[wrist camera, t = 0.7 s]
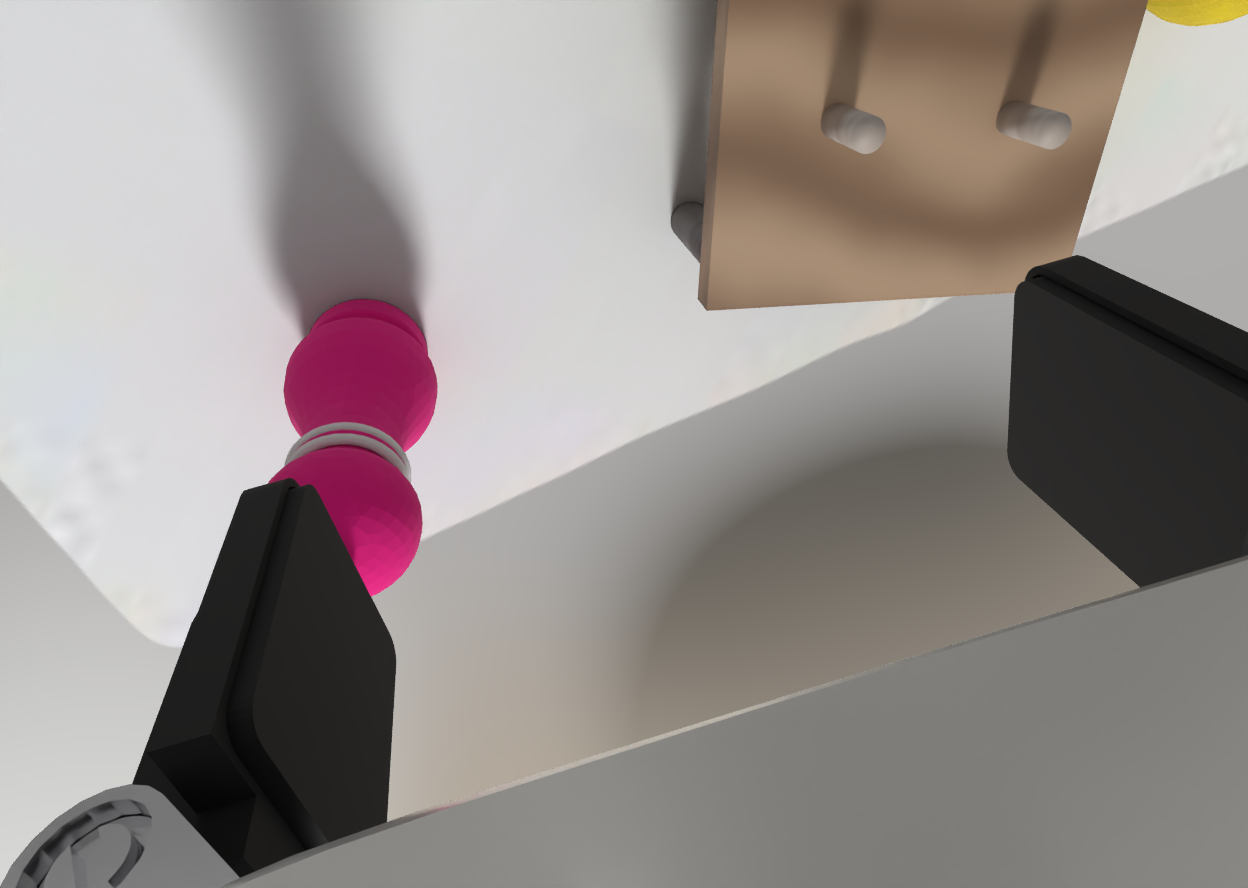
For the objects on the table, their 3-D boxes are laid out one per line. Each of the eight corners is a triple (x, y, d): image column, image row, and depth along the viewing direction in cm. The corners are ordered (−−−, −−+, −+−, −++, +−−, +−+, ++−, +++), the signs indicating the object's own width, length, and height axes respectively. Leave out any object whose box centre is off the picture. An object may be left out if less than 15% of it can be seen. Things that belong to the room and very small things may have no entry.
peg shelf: (685, -347, 33) (797, -478, 23) (1087, -313, 36) (1344, -414, 26) (660, 249, 45) (726, 336, 35) (962, 235, 48) (1103, 312, 38)
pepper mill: (356, 433, 47) (313, 705, 30) (266, 335, 43) (160, 583, 26) (463, 368, 46) (480, 609, 29) (381, 262, 42) (347, 470, 26)
